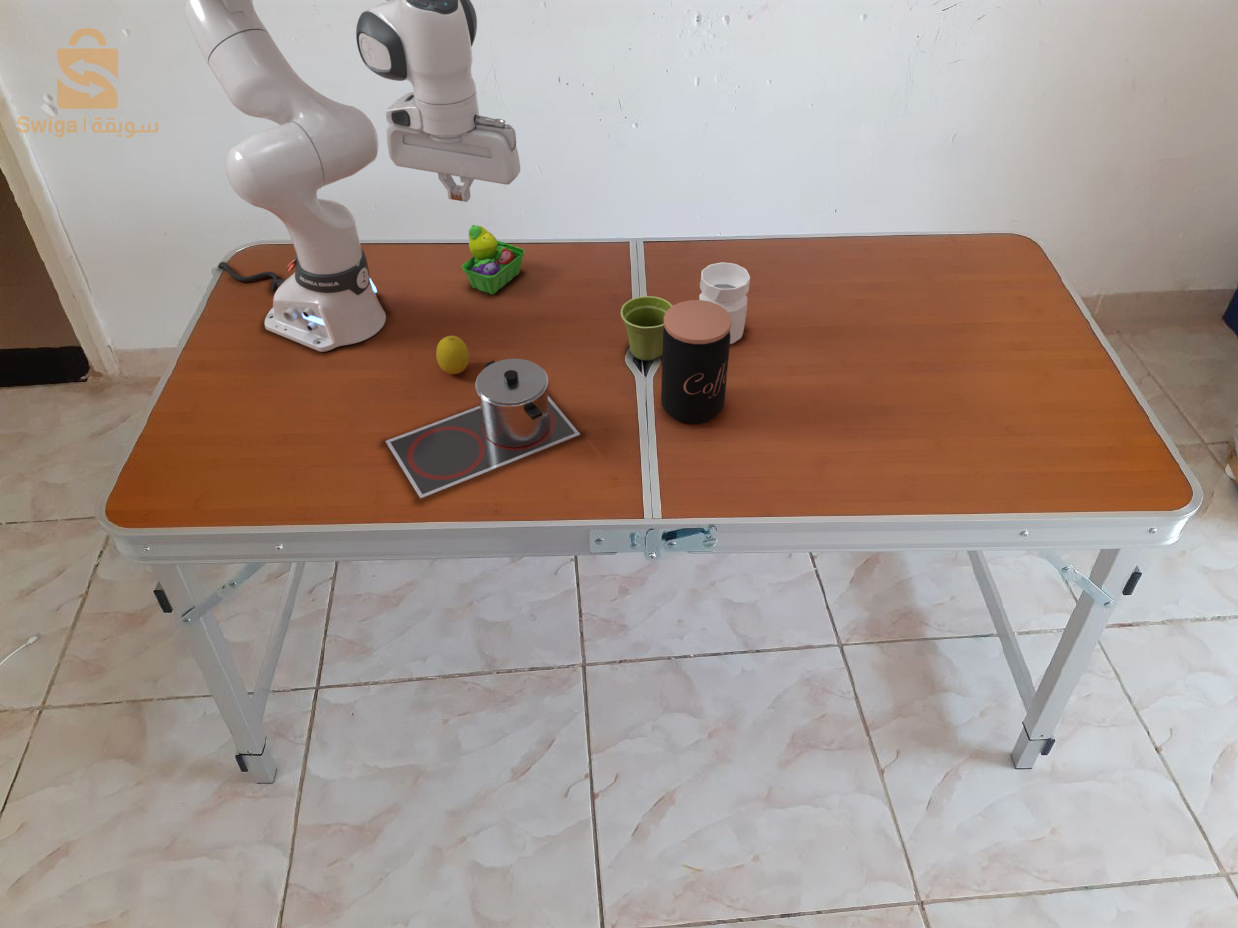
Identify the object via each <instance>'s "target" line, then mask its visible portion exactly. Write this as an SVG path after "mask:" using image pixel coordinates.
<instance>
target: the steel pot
mask: <svg viewBox="0 0 1238 928" xmlns="http://www.w3.org/2000/svg"><path fill="white" fill-rule="evenodd" d="M474 388H475V389H474V390H475V393H476V395H477V396H478V402H479V406H480V410H481V416H482V423H483V430H484V433H485V435H486V436H487V438H488V439H489V440H491V441H492V442H494V443H495V444H498V445H500V446H504V447H524V446H528V445H531V444H533V443H535V442H537V441H539V440H540V439H541V438H543V437H544V436H545V434H546V433H547V431H548V429H549V426H550V418H549V406H548V396H549V394H548V389H549V376H548V374H547V371H545V369H544V368H542V367H541V366H540V365H539V364H537V363H536V362H533V361H531V360H527V359H523V358H507V359H502V360H497V361H495V360H494V359H493V360H491V361H488V362H486V363H484V368H483V370H481V371H480V373H479V374H478V375H477V377H476V380H475V384H474Z"/></svg>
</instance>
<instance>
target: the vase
mask: <svg viewBox="0 0 1238 928" xmlns="http://www.w3.org/2000/svg"><path fill="white" fill-rule="evenodd" d="M700 276H701V277H700V282H699V289H700V291H701V292H700V294H699V296H698V297H699V298H698V300H703V301H709V302H712V303H715V304H718V305H720V306H721V307H723V308H724V309H726V310H727V312H728V313H729V315H730V316H731V322H732V324H731V327H730V336H731V337H730V345H732V344H734V343H736V342H737V341H739V340H740V339H742V337H743V334H744V330H745V324H746V319H747V318H746V317H747V309H748V296H747V294H748V293H749V290H750V284H751V283H750V281H751V276H750V274H749V272H748V270H747V268H744V267H743V266H741V265H739V264H737V263H732V262H725V261H724V262H717V263H712V264H709V265H707V266H706V267H705V268H703V269H702V270H701V275H700Z"/></svg>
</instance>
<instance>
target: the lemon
mask: <svg viewBox="0 0 1238 928" xmlns="http://www.w3.org/2000/svg"><path fill="white" fill-rule="evenodd" d="M435 353H436V354H435V356H436V361H437V364H438V366H439V367H440V369H441V370H442V371H443V372H444V373H446V374H448V375H458V374H461V373H462V372H464V371H465V370H466V368H467V367H468V365H469V362H470V361H469V360H470V354H469V349H468V347H467V345H466V343H465V341H464V340H462V338H461V337H458V336H456V335H448V336H445V337H443V338H442V339H440V341H439V342H438V344H437V346H436V352H435Z"/></svg>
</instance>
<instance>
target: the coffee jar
mask: <svg viewBox="0 0 1238 928" xmlns="http://www.w3.org/2000/svg"><path fill="white" fill-rule="evenodd" d="M731 324H732V322H731V316H730V315H729V313H728V312H727V310H726V309H724V308H723V307H721V306H720V305H718V304H715V303H712V302H709V301H703V300H699V299H689V300H685V301H679V302H678V303H675V304H672V307H671V308H669V309H668V310H667V311H666V313H665V316H664V330H663V353H662V355H661V357H662V358H661V387H660V388H661V389H660V390H661V391H660V401H661V406H662V408H663V410H664V411H665V413H666V414H667V415H668V416H669V417H670V418H671V419H673V420H674V421H676V422H678V423H681V424H684V425H702V424H706V423H709V422H710V421H712V420H714V419H715V418H716V417H717V416H718V415H719V414H721V412H722V411H723V409H724V406H725V402H726V393H727V392H726V391H727V378H728V370H729V360H730V359H729V357H730V347H731V344H730V337H731V336H730V327H731Z"/></svg>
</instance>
